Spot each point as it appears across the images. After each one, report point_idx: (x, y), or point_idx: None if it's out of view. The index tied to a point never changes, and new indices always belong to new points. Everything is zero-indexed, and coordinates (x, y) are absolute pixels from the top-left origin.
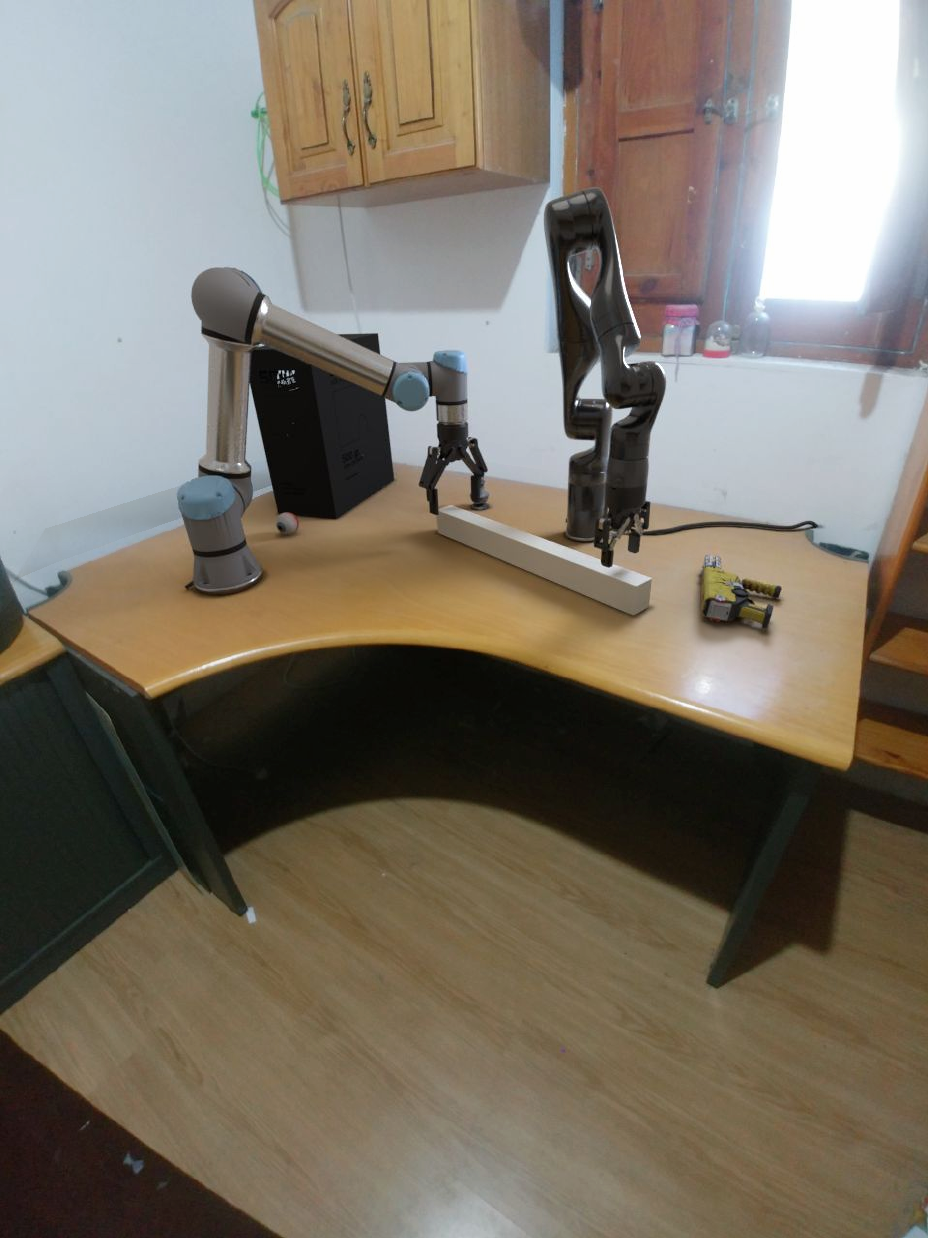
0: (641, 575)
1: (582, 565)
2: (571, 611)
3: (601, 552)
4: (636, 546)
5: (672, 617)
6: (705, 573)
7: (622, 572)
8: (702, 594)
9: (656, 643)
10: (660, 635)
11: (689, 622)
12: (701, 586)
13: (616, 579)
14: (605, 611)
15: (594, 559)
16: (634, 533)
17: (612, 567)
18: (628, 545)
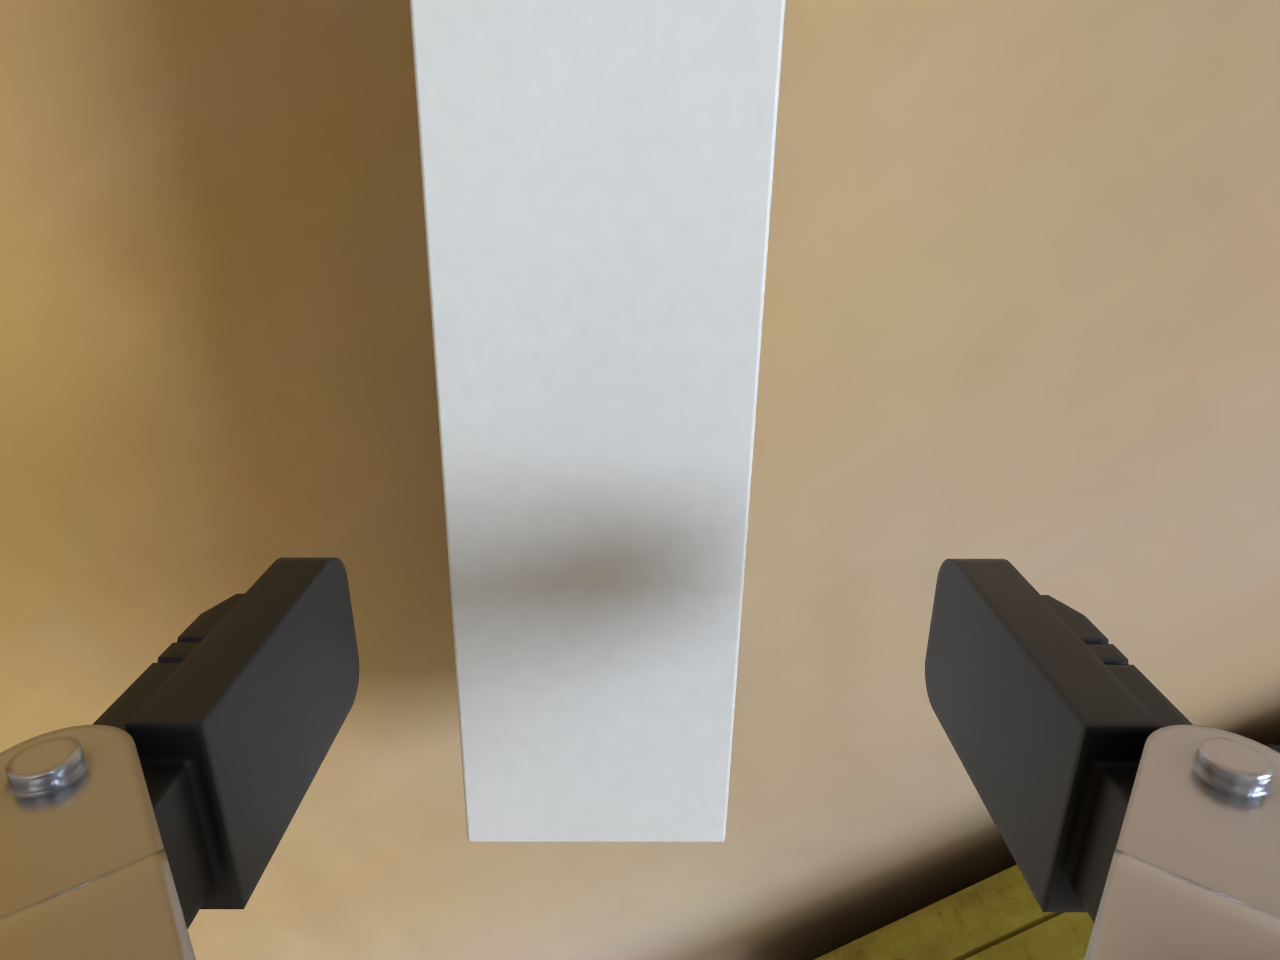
0: (709, 750)
1: (419, 74)
2: (178, 281)
3: (102, 718)
4: (967, 748)
5: None
6: None
7: (630, 586)
8: (953, 948)
9: (349, 907)
10: (440, 879)
11: (697, 906)
12: None
13: (453, 628)
14: (407, 482)
15: (716, 66)
16: (1100, 863)
17: (663, 425)
18: (978, 599)
